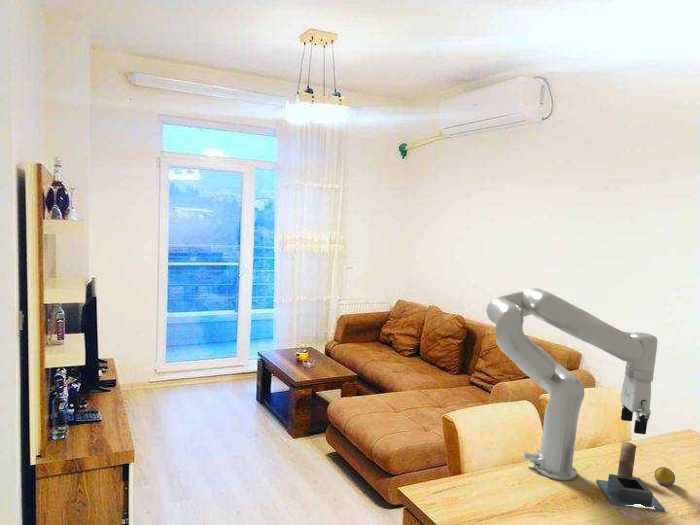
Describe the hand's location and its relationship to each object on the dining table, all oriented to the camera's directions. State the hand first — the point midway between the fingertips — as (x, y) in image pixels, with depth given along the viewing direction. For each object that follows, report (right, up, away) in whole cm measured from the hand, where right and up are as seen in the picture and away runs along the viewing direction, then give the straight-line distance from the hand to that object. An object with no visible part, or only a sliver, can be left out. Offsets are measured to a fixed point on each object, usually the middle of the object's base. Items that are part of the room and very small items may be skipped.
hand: (632, 426), depth 157 cm
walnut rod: (-2, -16, +2) cm, 16 cm away
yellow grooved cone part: (+8, -17, -3) cm, 19 cm away
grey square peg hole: (-7, -17, -11) cm, 21 cm away
